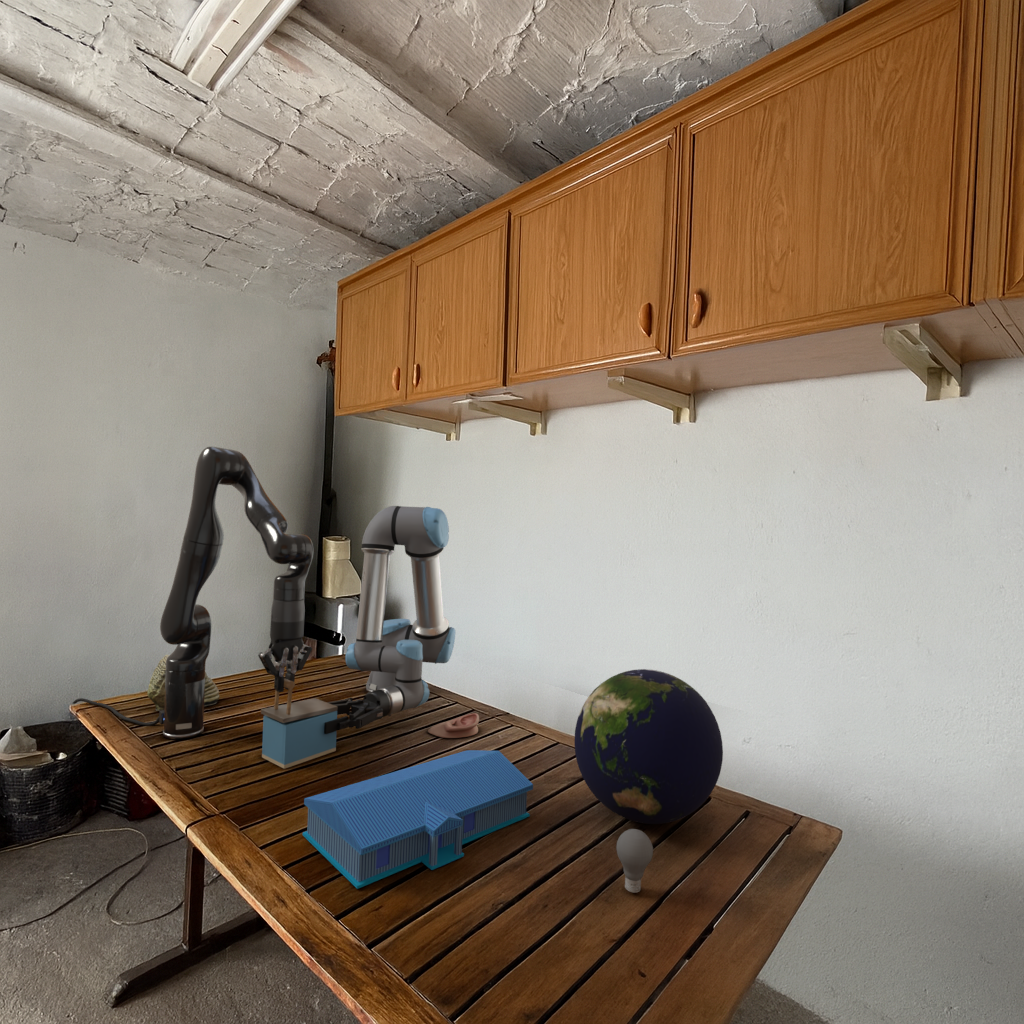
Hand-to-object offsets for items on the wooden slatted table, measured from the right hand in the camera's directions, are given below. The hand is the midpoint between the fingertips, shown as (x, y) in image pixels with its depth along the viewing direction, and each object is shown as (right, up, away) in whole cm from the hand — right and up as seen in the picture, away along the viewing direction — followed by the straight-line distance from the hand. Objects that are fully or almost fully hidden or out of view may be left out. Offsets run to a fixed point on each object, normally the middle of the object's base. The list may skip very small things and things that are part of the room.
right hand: (312, 723), depth 158 cm
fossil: (-46, -4, +27) cm, 54 cm away
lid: (-2, +4, -3) cm, 5 cm away
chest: (-2, -7, -3) cm, 8 cm away
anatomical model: (+33, -8, +17) cm, 38 cm away
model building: (+33, -9, -35) cm, 49 cm away
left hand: (-5, +10, -7) cm, 13 cm away
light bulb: (+70, -11, -52) cm, 88 cm away
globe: (+77, -11, -26) cm, 82 cm away
